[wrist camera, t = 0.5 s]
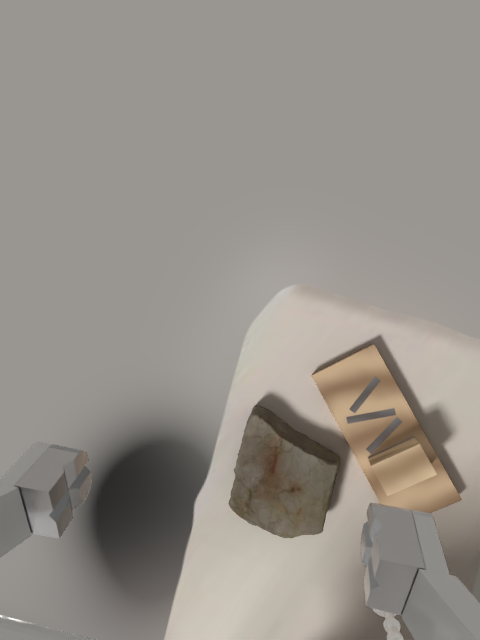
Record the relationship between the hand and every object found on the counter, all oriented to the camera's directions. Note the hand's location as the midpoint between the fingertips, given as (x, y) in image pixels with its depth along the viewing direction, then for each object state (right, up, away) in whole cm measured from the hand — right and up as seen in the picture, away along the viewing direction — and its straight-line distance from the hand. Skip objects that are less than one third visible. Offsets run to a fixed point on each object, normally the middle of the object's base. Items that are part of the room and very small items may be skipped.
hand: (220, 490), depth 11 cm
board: (+21, -12, +47) cm, 52 cm away
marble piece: (+8, -18, +50) cm, 53 cm away
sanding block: (+23, -15, +45) cm, 52 cm away
